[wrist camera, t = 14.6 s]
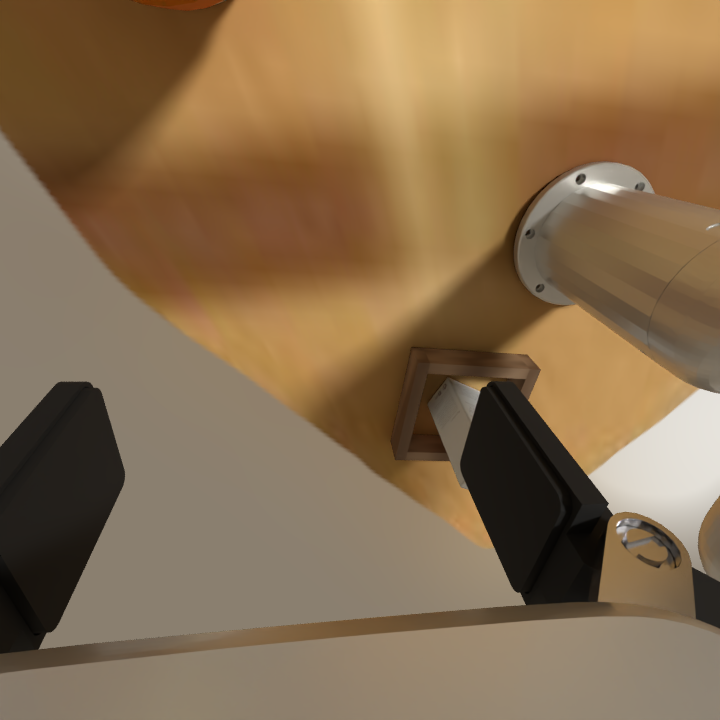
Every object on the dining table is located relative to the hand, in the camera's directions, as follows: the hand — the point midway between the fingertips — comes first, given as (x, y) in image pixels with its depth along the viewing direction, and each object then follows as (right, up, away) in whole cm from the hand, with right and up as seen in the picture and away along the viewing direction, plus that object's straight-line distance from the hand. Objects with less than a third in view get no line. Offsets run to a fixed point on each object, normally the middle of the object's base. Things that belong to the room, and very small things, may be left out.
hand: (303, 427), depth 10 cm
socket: (+12, -3, +35) cm, 38 cm away
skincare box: (+12, -3, +36) cm, 38 cm away
